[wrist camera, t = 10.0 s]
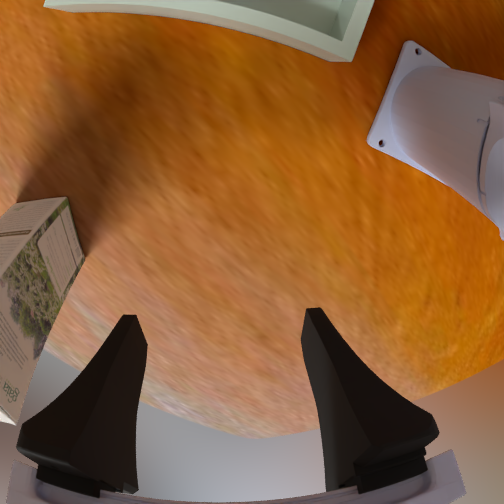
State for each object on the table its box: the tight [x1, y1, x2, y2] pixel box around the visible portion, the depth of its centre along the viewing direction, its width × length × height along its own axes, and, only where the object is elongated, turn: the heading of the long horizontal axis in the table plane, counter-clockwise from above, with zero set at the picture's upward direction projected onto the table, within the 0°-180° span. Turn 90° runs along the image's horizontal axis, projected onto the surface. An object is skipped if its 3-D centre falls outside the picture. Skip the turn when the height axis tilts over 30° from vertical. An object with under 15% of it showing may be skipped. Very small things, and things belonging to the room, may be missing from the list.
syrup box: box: [0, 197, 85, 425], centre depth 13 cm, size 6×6×14 cm
